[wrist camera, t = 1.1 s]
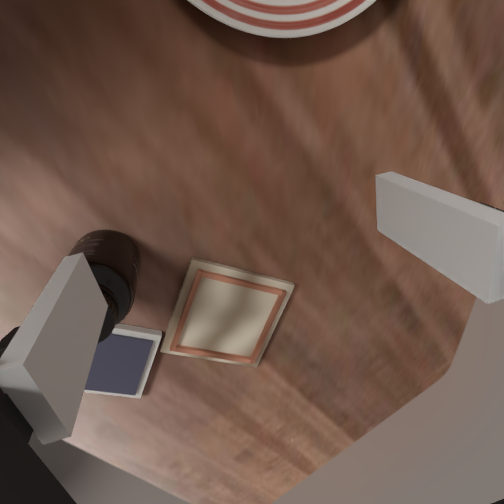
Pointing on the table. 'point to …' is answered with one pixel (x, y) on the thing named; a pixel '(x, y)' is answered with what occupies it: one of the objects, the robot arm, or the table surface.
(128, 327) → the ink pad
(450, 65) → the table surface
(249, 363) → the board
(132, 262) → the supplement bottle
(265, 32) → the dinner plate
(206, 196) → the table surface
